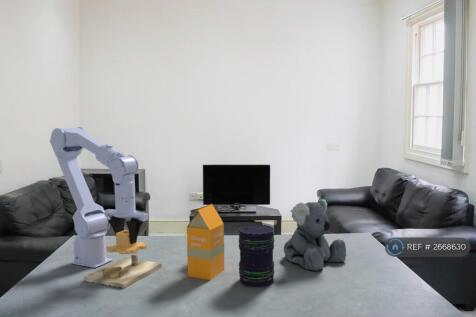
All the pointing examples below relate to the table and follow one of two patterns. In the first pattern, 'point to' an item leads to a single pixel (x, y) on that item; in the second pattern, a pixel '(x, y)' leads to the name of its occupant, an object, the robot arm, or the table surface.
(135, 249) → the gear
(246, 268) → the storage jar
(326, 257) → the koala plush
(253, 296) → the table surface
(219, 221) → the orange juice
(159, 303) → the table surface
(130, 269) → the carrier plate
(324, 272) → the table surface
